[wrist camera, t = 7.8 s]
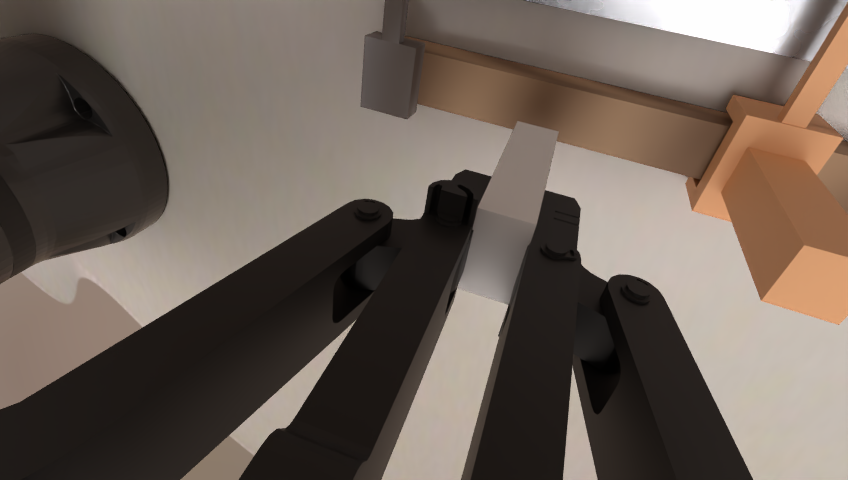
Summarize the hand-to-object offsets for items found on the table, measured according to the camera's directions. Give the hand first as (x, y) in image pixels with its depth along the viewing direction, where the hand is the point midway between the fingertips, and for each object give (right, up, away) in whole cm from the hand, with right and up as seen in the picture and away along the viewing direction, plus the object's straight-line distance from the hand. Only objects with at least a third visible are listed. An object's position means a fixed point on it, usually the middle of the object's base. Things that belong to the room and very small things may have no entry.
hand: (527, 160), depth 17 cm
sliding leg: (+10, +3, +1) cm, 11 cm away
